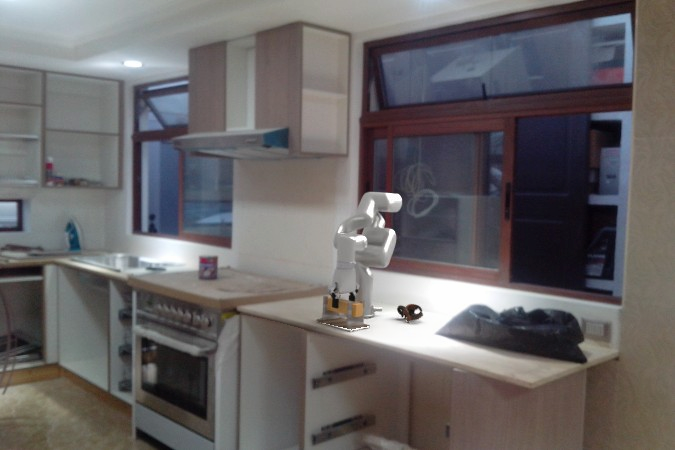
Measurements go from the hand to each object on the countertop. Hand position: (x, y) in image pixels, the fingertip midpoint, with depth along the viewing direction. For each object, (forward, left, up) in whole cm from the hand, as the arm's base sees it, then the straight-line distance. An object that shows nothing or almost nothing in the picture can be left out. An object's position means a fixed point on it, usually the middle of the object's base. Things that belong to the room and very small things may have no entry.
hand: (343, 306), depth 264 cm
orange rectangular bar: (0, 0, -2) cm, 3 cm away
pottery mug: (-32, -7, -8) cm, 34 cm away
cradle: (0, 0, -8) cm, 8 cm away
